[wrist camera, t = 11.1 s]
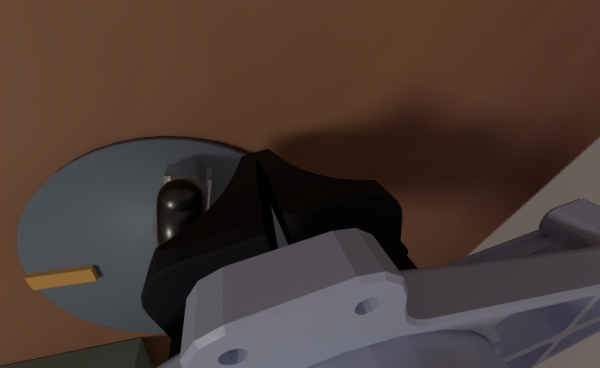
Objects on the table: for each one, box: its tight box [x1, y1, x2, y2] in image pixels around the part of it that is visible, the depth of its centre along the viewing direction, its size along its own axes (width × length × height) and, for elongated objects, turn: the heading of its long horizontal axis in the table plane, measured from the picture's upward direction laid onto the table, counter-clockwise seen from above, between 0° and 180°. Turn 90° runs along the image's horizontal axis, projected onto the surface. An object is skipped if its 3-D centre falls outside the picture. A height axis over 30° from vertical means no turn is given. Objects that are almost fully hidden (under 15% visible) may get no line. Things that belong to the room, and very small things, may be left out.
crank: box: [152, 158, 212, 247], centre depth 12 cm, size 10×4×5 cm, turn 165°
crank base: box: [16, 136, 288, 333], centre depth 16 cm, size 16×16×1 cm
